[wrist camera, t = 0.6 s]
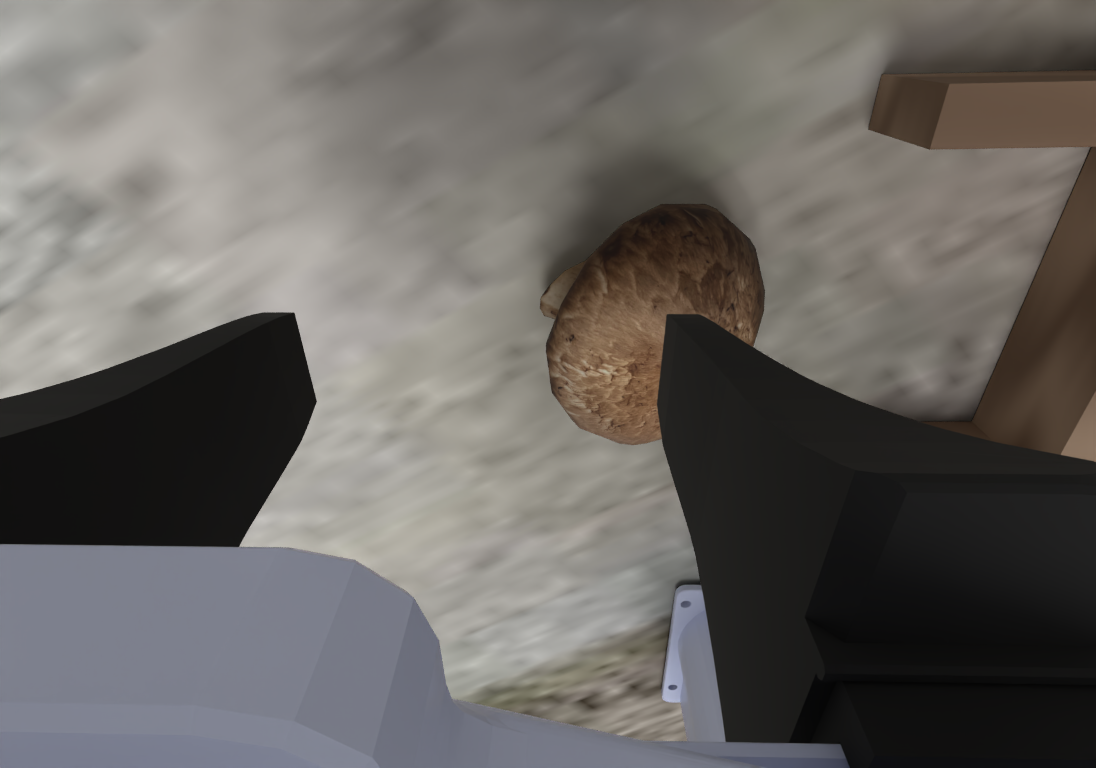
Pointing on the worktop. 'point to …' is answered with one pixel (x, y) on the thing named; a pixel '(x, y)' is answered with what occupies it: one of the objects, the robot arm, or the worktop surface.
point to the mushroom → (644, 312)
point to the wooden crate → (1067, 267)
